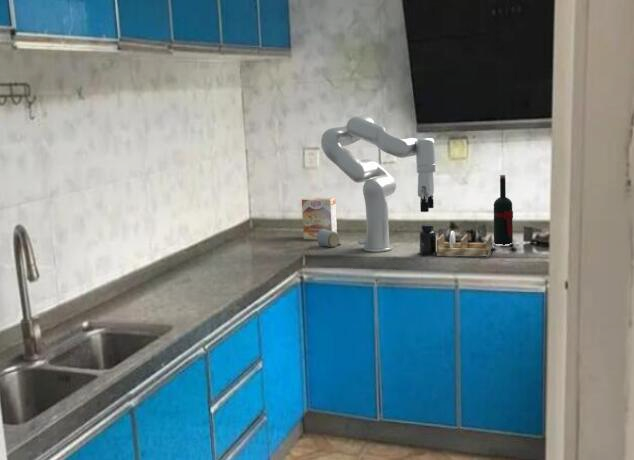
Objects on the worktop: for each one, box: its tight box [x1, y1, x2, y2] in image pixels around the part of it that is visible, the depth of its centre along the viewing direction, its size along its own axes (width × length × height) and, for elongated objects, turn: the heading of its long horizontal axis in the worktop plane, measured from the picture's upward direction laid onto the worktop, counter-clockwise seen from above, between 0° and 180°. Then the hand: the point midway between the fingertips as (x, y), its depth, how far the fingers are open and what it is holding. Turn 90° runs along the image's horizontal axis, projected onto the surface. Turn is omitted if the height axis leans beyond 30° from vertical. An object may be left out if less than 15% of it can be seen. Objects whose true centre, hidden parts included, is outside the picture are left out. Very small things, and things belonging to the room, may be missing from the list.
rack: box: [436, 233, 493, 257], centre depth 294 cm, size 20×12×7 cm, turn 69°
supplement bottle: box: [418, 223, 437, 255], centre depth 298 cm, size 7×7×12 cm
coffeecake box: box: [301, 197, 338, 241], centre depth 342 cm, size 15×7×20 cm, turn 67°
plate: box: [449, 230, 456, 248], centre depth 296 cm, size 1×9×9 cm, turn 160°
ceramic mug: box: [316, 229, 342, 248], centre depth 324 cm, size 11×8×8 cm
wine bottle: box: [493, 174, 514, 245], centre depth 304 cm, size 8×10×30 cm
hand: (427, 209), depth 296 cm, fingers open, 9 cm apart
